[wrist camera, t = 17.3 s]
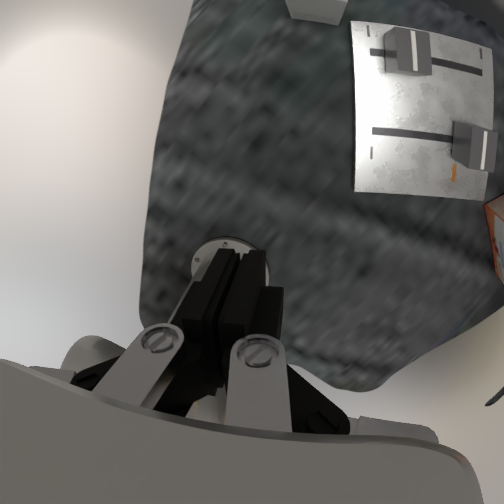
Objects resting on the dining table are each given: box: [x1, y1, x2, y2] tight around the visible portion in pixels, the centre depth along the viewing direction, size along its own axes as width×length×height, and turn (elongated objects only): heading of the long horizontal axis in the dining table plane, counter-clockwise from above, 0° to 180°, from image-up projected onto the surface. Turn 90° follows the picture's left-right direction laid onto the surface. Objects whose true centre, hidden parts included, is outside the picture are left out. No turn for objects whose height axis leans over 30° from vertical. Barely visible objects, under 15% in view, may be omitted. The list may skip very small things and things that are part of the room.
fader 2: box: [452, 121, 498, 173], centre depth 28 cm, size 5×4×5 cm
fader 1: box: [384, 27, 432, 76], centre depth 25 cm, size 5×4×5 cm
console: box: [349, 21, 494, 201], centre depth 31 cm, size 22×20×2 cm
